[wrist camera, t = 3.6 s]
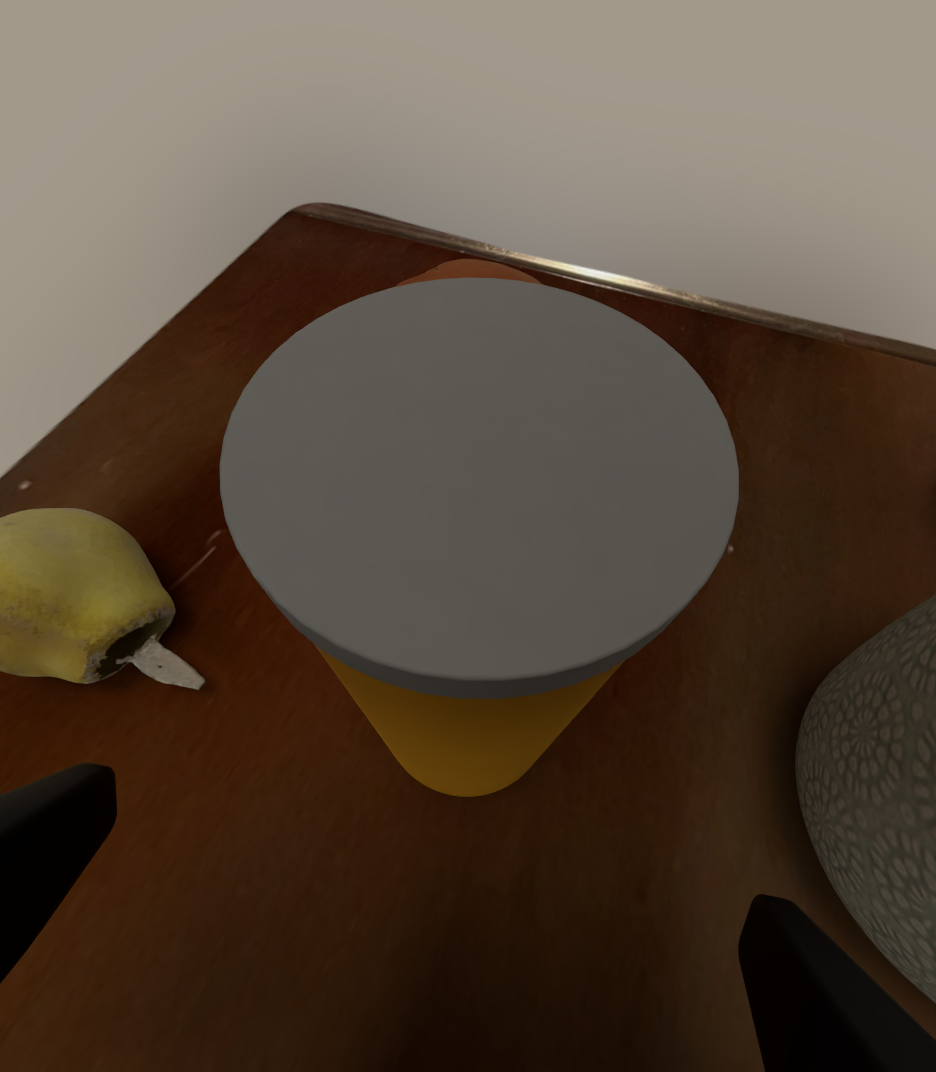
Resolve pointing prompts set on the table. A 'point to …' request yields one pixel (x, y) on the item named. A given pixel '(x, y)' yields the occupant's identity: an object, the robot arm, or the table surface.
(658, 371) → the snack tube
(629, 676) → the table surface
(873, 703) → the planter
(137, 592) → the fruit
